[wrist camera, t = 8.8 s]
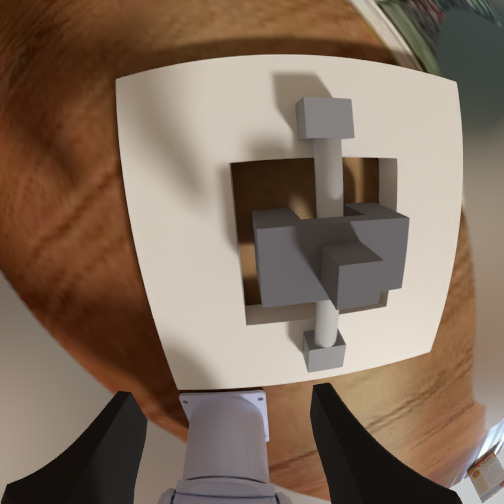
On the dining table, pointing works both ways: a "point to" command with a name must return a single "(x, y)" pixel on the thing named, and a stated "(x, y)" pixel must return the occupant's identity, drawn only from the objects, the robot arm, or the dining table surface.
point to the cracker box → (487, 476)
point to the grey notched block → (329, 255)
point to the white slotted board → (327, 205)
